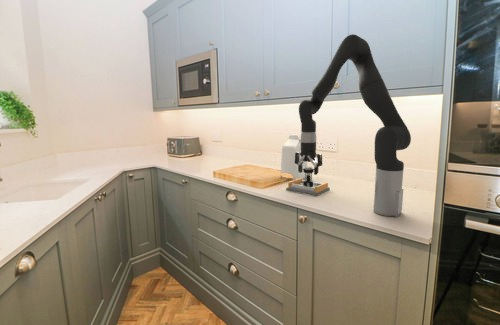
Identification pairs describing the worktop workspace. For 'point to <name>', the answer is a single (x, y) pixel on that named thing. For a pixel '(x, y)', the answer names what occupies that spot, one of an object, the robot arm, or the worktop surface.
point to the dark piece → (308, 177)
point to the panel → (318, 191)
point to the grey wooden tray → (306, 188)
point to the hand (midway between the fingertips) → (308, 173)
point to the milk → (292, 157)
